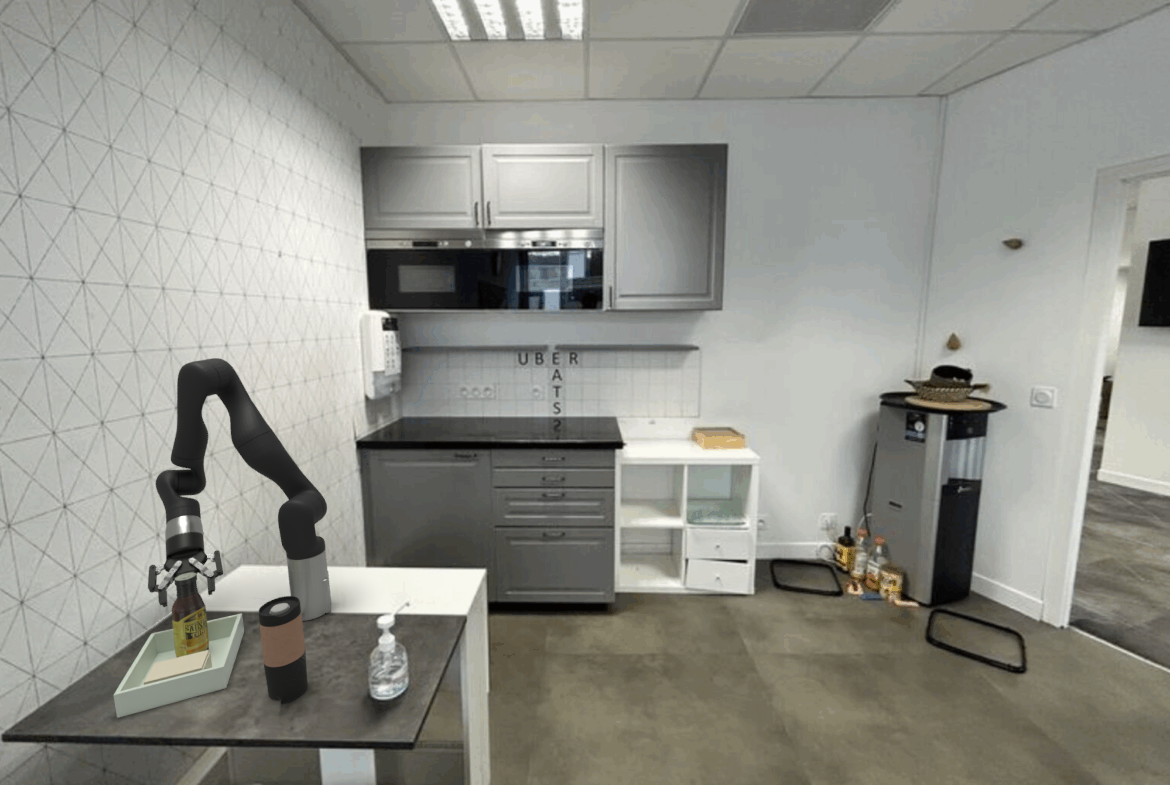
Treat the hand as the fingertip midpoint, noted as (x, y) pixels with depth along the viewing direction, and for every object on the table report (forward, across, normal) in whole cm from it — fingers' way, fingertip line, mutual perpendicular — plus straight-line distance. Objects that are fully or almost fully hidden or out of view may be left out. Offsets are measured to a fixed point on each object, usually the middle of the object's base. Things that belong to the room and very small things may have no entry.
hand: (188, 599), depth 119 cm
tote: (+16, -1, +3) cm, 16 cm away
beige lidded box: (+20, -2, -2) cm, 20 cm away
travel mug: (+31, +17, -12) cm, 37 cm away
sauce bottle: (+12, 0, +6) cm, 13 cm away
